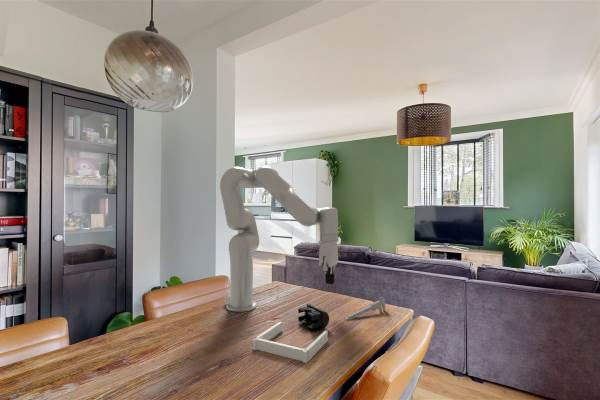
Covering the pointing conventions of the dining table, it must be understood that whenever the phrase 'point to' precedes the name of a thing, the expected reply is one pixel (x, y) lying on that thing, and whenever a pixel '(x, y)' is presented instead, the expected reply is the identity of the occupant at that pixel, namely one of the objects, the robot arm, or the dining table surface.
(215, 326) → the dining table surface
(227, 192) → the robot arm
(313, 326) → the end cap
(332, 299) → the dining table surface
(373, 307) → the caliper
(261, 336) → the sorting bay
